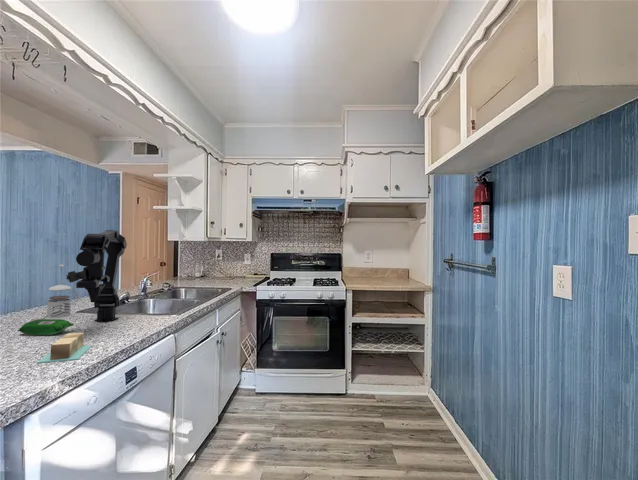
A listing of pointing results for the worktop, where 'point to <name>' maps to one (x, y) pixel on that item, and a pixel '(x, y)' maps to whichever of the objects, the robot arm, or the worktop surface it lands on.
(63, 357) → the maple block
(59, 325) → the snack package
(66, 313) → the french press
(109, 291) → the robot arm
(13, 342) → the worktop surface
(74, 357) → the rubber mat
